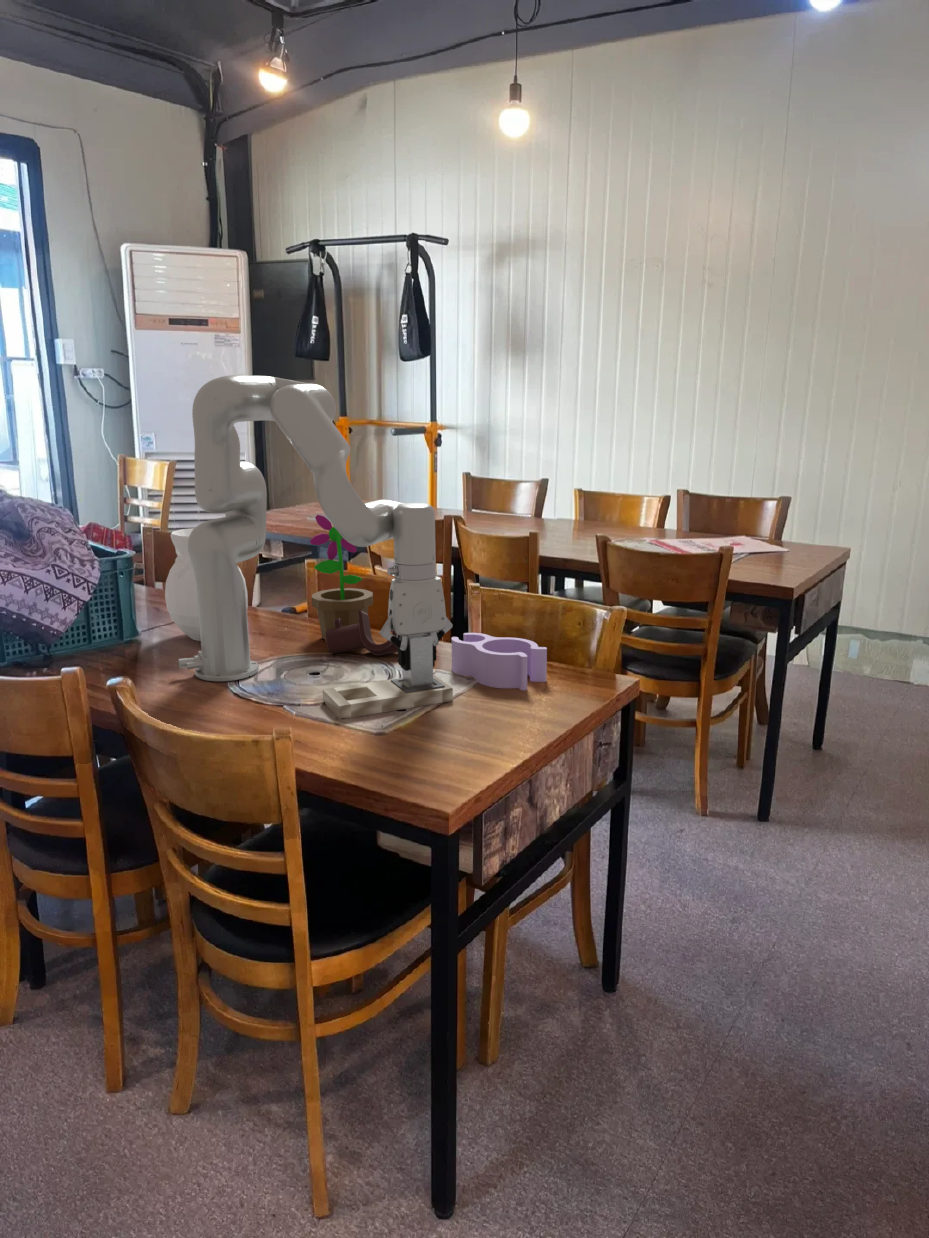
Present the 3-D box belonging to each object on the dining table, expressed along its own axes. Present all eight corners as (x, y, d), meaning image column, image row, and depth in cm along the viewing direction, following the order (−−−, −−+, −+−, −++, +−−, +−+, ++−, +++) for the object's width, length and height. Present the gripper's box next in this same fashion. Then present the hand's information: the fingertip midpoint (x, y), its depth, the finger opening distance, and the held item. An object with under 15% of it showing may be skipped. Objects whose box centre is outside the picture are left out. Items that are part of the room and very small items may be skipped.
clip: (438, 674, 187) (438, 641, 185) (477, 660, 196) (477, 629, 194) (517, 694, 175) (517, 659, 173) (554, 678, 184) (555, 645, 182)
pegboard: (339, 719, 162) (339, 704, 161) (323, 702, 170) (322, 687, 170) (452, 700, 171) (452, 686, 170) (431, 685, 180) (431, 671, 179)
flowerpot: (366, 627, 222) (362, 504, 215) (381, 642, 209) (378, 511, 202) (307, 632, 218) (301, 507, 210) (320, 648, 205) (313, 515, 197)
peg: (411, 690, 170) (410, 638, 167) (402, 683, 174) (401, 633, 171) (433, 687, 171) (432, 635, 169) (424, 680, 175) (423, 630, 173)
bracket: (405, 648, 195) (397, 602, 196) (328, 663, 197) (322, 617, 198) (411, 650, 201) (403, 606, 203) (336, 665, 203) (330, 621, 204)
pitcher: (152, 639, 213) (142, 532, 207) (214, 622, 228) (206, 522, 221) (205, 652, 203) (196, 540, 196) (267, 633, 217) (260, 529, 211)
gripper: (378, 579, 160) (382, 678, 165) (465, 570, 167) (466, 666, 172) (364, 572, 167) (368, 667, 171) (448, 563, 174) (450, 655, 178)
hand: (417, 665), depth 172 cm, fingers closed on peg, 4 cm apart
